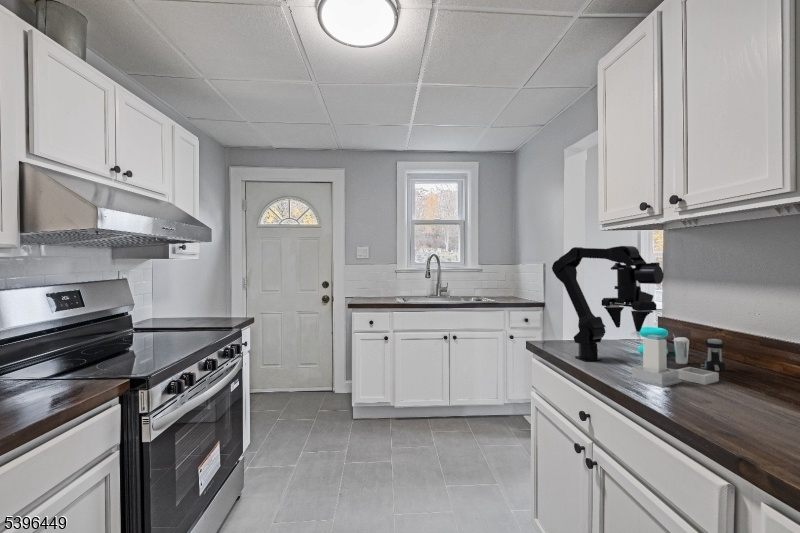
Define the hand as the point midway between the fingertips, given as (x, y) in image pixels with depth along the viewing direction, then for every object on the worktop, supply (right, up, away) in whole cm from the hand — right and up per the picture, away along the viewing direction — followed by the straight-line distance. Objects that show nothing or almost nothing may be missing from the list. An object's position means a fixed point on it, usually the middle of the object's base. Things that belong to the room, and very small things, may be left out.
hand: (627, 329), depth 134 cm
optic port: (0, -13, -14) cm, 19 cm away
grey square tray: (+13, -13, -13) cm, 23 cm away
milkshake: (+22, -13, +7) cm, 27 cm away
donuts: (+22, -13, +21) cm, 33 cm away
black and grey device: (+26, -13, -3) cm, 30 cm away
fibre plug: (0, -13, -14) cm, 19 cm away
